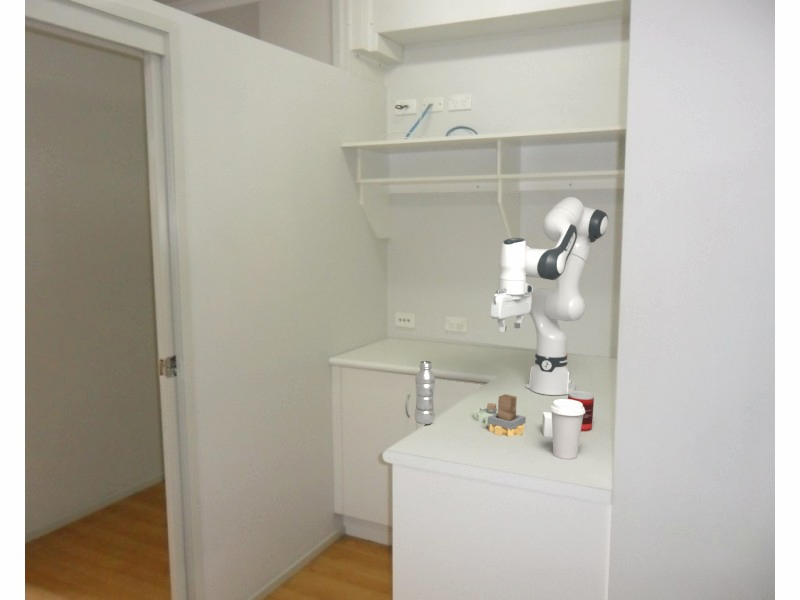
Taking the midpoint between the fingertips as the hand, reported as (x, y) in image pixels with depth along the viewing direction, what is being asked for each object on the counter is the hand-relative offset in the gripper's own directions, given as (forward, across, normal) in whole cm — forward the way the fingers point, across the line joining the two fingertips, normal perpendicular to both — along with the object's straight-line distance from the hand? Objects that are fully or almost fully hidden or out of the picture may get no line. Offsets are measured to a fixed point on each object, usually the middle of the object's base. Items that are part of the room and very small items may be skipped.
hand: (510, 329), depth 209 cm
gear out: (+29, -14, -8) cm, 33 cm away
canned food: (+29, +5, -23) cm, 38 cm away
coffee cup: (+29, -20, -31) cm, 47 cm away
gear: (+29, -7, +2) cm, 30 cm away
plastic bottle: (+29, -26, +15) cm, 42 cm away
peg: (+27, -14, -8) cm, 31 cm away
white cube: (+30, -6, -20) cm, 36 cm away
